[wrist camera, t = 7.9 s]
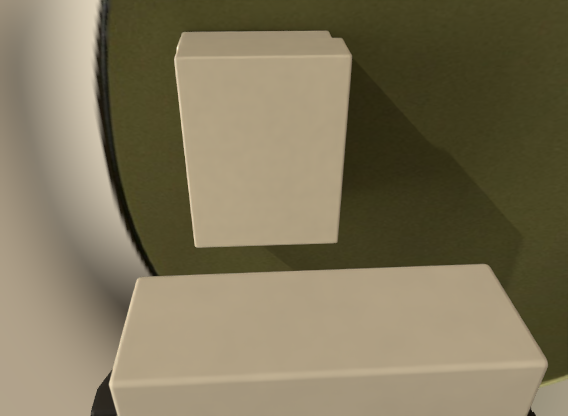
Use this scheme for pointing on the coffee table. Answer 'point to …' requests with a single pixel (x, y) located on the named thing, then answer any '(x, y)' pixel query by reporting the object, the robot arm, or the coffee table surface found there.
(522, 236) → the coffee table surface
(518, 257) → the coffee table surface
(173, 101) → the coffee table surface
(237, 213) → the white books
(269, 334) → the cream flat block
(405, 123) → the coffee table surface
